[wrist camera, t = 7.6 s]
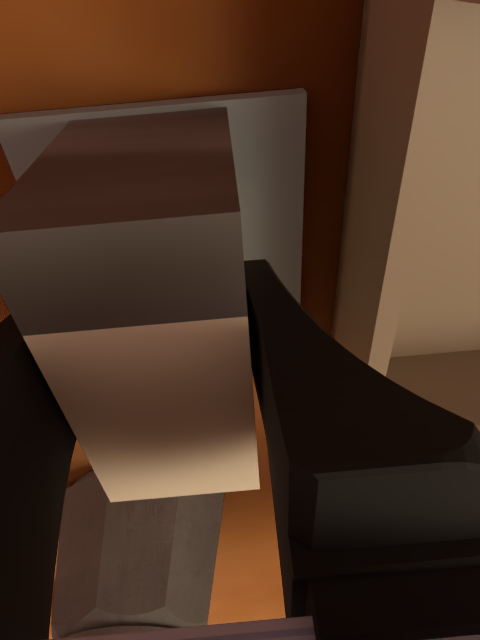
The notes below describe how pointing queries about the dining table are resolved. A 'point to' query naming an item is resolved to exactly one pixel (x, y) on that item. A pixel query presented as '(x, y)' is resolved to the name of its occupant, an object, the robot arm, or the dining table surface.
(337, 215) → the dining table surface
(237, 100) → the slate mat
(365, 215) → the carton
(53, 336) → the box
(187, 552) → the coffeepot
